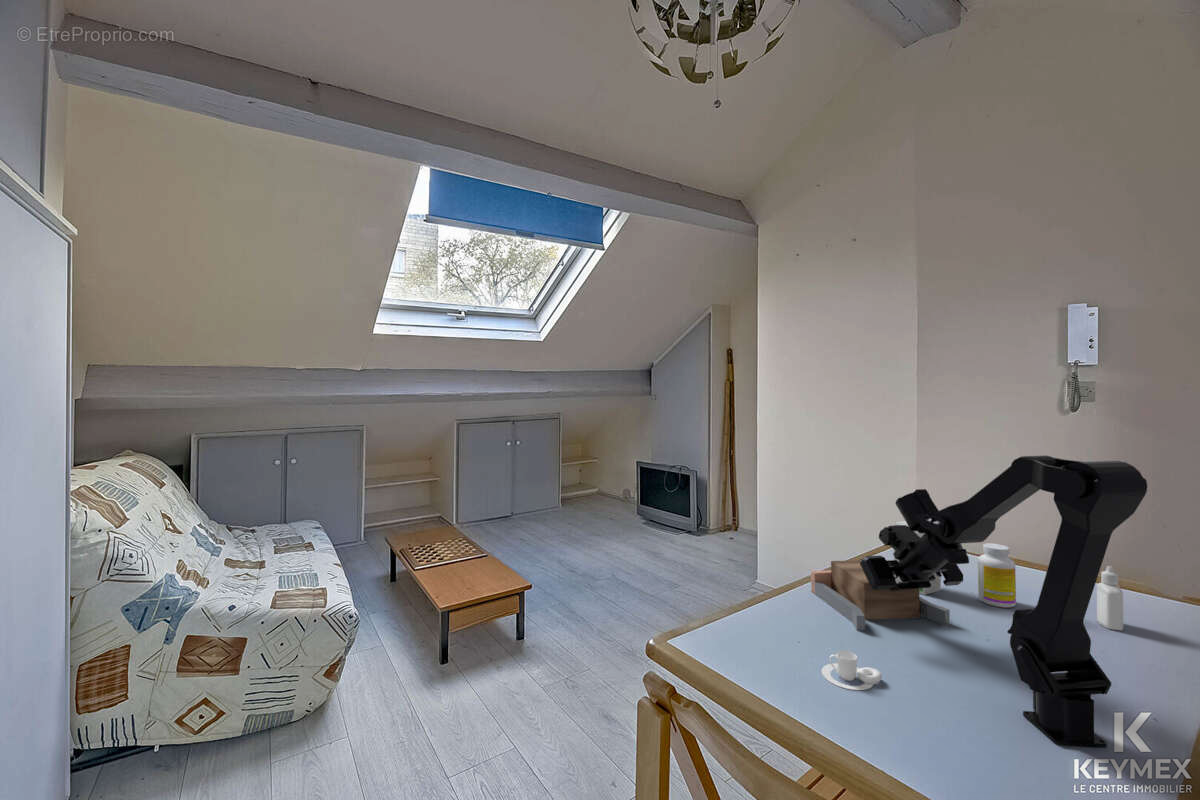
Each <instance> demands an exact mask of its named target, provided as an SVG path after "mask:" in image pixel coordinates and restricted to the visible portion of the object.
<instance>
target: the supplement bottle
mask: <svg viewBox="0 0 1200 800" xmlns="http://www.w3.org/2000/svg"><path fill="white" fill-rule="evenodd" d="M982 545H983V546H982V547H983V548H982V550H983V552H984V553H983V554H981V555H979V556H978V559H977V563H978V564H977V565H978V567H977V568H978V569H977V570H978V573H977V574H978V575H977V576H978V577H977V578H978V579H977V580H978V581H977V582H978V587H977V588H978V599H979V601H981V602H983V603H984V604H987V605H990V606H993V607H997V608H1005V609H1006V608H1008V609H1009V608H1013V607H1015V606H1016V603H1017V598H1016V597H1017V595H1016V594H1017V591H1016V590H1017V588H1016V586H1017V585H1016V583H1017V582H1016V580H1017V578H1016V563H1015V560H1013V559H1012V558H1010V557H1009V556H1010V547H1009V546H1007V545H1003V544H998V543H991V542H990V543H984V544H982Z"/></svg>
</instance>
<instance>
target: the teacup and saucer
mask: <svg viewBox="0 0 1200 800" xmlns="http://www.w3.org/2000/svg"><path fill="white" fill-rule="evenodd" d="M828 658H829V659H828V660H829V663H828V664H826V665H824V666H823V667H822V669H821V673H822V676H823V678H825V679H826V680H827V681H828V682H829V683H831V684H832V685H835V686H837V687H840V688H842V689H847V690H852V691H864V690H865V691H866V690H869V689H871V688H872V687H873V686H874V684H878V683H880V682H881V681H882V678H883V676H882V673H881V672H880V671H879V670H878V669H876V668H873V667H867V666H866V667H861V668H860V667H858V656H857V654H855V653H853V652H850V651H849V650H839V651H837V652H836V654H831V655H830V656H829V657H828ZM832 658H835V659H836V663H833V662H832ZM833 670H834V671H835V672H836V673H837V674H838V675H839V677H840V678H841V679H843V680H845V681H849V682H851V681H854V680H855V678H856V676H857V678H858V679H859V680H860V681H861V682H863V684H861V685H847V684H844V683H841V682H840V681H838V680H836V679H834V677H832V675H831V672H832V671H833Z"/></svg>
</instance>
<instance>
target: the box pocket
mask: <svg viewBox="0 0 1200 800" xmlns="http://www.w3.org/2000/svg"><path fill="white" fill-rule="evenodd" d="M810 572H811V573H810V575H811V576H810V580H811V581H810V583H811V586H810V587H811V591H810V592H811V593H812V594H814V595H815V596H817V597H818V598H819V599H820V600H822V601H824V602H825V603H826V604H827V605H829V606H830V607H831V608H832V609H834V610H835V611H837V612H838V613H839V614H841V615H842V616H843V617H845V619H847V620H848V621H850V622H852V624H853V626H854V628H855V630H856V631H862V632H866V620H865V616H864V614H863V613H862V611H861V609H860V608H859V607H857V606H856V605H854V604H853V603H851V602H850V601H848V600H847V599H846V598H844V597H843V596H841V595H840V594H838V593H837V592H835V591H834V590H832V589H831V569H830V570H829V569H828V570H812V571H810ZM919 616H922V617H923V618H926V619H928V620H930V621H933V622H934V623H938V624H941V625H943V626H948V625H950V623H951V621H950V608H946V607H944V606H942V605H937V604H935V603H933V602H930V601H928V600H927V599H925V598H923V597H921V596H919Z"/></svg>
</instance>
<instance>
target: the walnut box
mask: <svg viewBox="0 0 1200 800" xmlns="http://www.w3.org/2000/svg"><path fill="white" fill-rule="evenodd" d="M861 560H862V559H860V560H859V559H857V560H855V559H853V560H852V559H851V560H831V561H830V570H831V589H832V590H834V591H835V592H837V593H838V594H840V595H841V596H843V597H844V598H846V599H847V600H848V601H850V602H851V603H853V604H854V605H856V606H857V607H859V608H860V609H861V611H862V613H863V614H864V616H865V621H866V620H867V621H868V620H892V619H894V620H895V619H897V620H898V619H919V618H921V617H920V614H919V597H920V593H919V589H908V590H897V591H891V590H890V589H885V590H874V589H873V588H871V586H870V584H869V582H868V580H867V578H866V576H865V573H864V571H863V569H862V567H861V565H860V562H861Z"/></svg>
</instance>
